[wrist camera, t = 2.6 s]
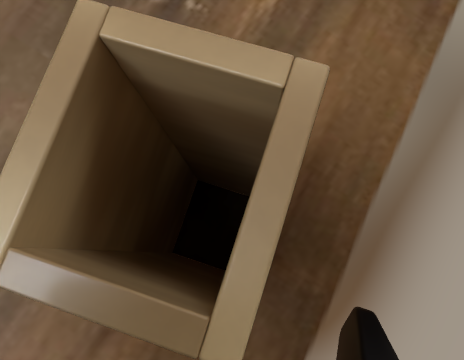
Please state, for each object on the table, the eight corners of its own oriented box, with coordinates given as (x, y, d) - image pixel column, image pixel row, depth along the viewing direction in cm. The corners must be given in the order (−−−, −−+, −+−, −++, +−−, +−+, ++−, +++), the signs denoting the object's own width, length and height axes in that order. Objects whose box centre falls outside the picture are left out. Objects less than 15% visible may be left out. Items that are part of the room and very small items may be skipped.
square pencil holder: (246, 292, 18) (237, 376, 5) (156, 261, 18) (-46, 272, 6) (277, 192, 18) (332, 64, 6) (190, 165, 19) (77, -6, 7)
